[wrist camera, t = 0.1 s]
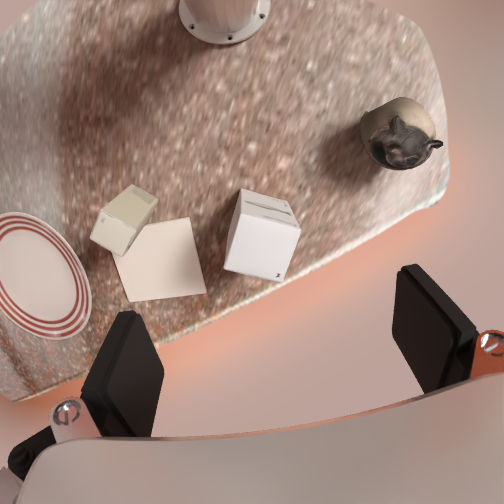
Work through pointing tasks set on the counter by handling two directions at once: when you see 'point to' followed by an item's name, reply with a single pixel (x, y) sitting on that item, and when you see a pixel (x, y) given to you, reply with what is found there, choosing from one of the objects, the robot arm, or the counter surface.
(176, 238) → the beige flat slab
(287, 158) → the counter surface
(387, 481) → the robot arm
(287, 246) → the supplement box
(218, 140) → the counter surface
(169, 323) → the counter surface
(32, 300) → the dinner plate
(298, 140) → the counter surface
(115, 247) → the box
